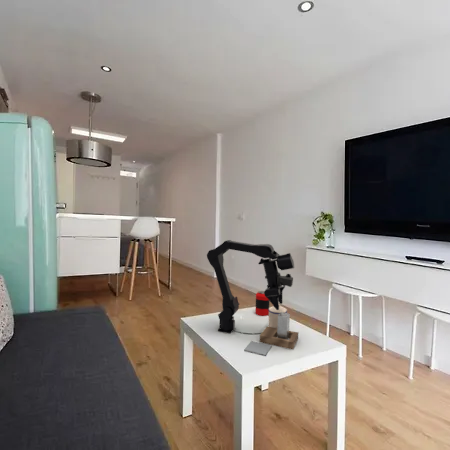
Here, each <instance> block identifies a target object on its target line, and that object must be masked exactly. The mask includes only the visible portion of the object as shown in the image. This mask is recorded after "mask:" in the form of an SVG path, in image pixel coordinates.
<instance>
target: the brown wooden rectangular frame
mask: <svg viewBox="0 0 450 450" xmlns="http://www.w3.org/2000/svg"><path fill="white" fill-rule="evenodd" d="M277 330H278V328H272V327H269V326H266V327H265V328H264V329H263V331H262V332H261V333H260V335H259V343H263V344H268V345H272V346H275V347H280V348H283V349H284V348H285V349H289V350H294V348H295V347H296V345H297V343H298V340H299V331H298V332H297V331H291V330H289V340H287V339H282V338H277Z"/></svg>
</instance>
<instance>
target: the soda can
mask: <svg viewBox="0 0 450 450" xmlns="http://www.w3.org/2000/svg"><path fill="white" fill-rule="evenodd" d="M264 291H265V290H259V291H257V292H256V294H255V314H256V315H257V316H260V317H267V316H269V310H268V309H269V308H270V301H269V299H268V298H266V297H265V294H264Z"/></svg>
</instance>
